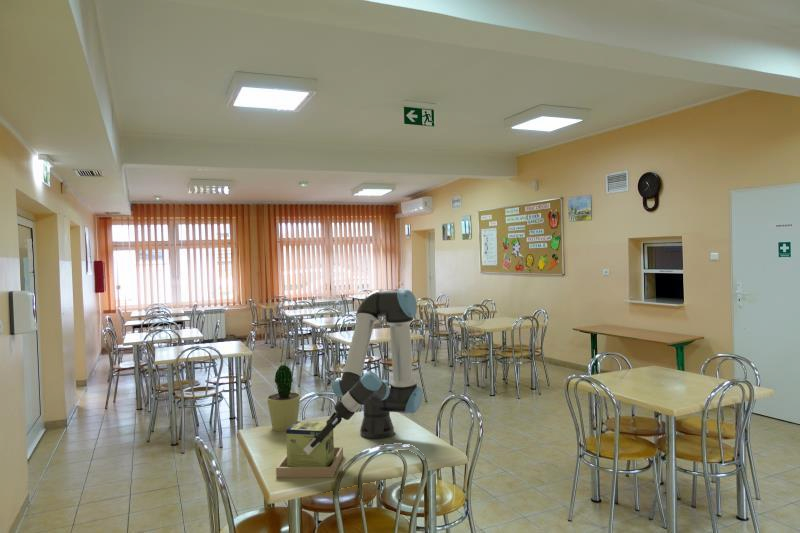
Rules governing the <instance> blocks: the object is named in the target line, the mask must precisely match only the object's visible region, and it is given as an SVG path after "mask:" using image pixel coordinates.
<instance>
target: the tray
mask: <svg viewBox="0 0 800 533" xmlns="http://www.w3.org/2000/svg"><path fill="white" fill-rule="evenodd" d="M343 457H344V447H343V446H334V461H333V463H332V465H331V466H330V467H287V453H286V454H285V455H284V456H283V458H282V459H281V460H280V461H279V463H278V465H277V466H276V468H275V472H276V473H275V476H276V478H333V477H334V476H333V475H335V473H336V471H337V470H338V467H339V464H340V462H341V460H342V459H343Z"/></svg>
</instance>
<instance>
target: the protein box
mask: <svg viewBox="0 0 800 533" xmlns="http://www.w3.org/2000/svg"><path fill="white" fill-rule="evenodd" d="M326 423H327V422H326V421H325V422H324V421H302V420H301V421H298V420H297V422H296V423H294V424H293V425H292V426H290V427H289V428H288V429H286V431H285V432H286V434H285V435H286V436H285V437H286V438H285V439H286V454H287V466H286V467H331V465H332V463H333V461H334V459H335V456H334V447H335V442H334V441H335V440H334V439H335V438H334V429H332V430H331V431H330V433H329V434H328V435H327V436H326V437H325V438H324V439H323V440H322V442H321V443H319V444H318V445H317V446H316V447H315V448H314V449H313V451H312V452H311V453H310V454H309V455H308V454H307V453H306V452H305V451H304V450H303V449H304V448H305V447H306V446H307V445H308V444H309V443H310V442H311V441H312V440H313V439H314V438H315V437H314V435H316V436H317V435H318V434H319V433H320V432H321V431H322V429H323V428H324V427H325V426H326V425H327V424H326Z"/></svg>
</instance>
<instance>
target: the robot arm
mask: <svg viewBox="0 0 800 533" xmlns="http://www.w3.org/2000/svg"><path fill="white" fill-rule="evenodd" d="M417 310H418V303H417V299H416V296H415V294H414V293H413V291H411V290H409V289H396V288H395V289H376V290H373V291H371V292H370V293H369V294H368V295H366V296H365V297H364V298H363V299H362V301H361V303H360V304H359V306H358V309H357V311H356V314H355V318H356V322H355V323H356V324H355V327H354V329H353V334H352V338H351V343H350V345H349V350H348V354H347V358H346V359H345V364H344V368H343V372H342V374H341V377H337V378H335V380H333V383H332V384H333V385H332V392H333V394H334V395H335V396H336V397H341V399H339V400H338V401H337V403H336V404H334V412H333V413H332V414H331V416H330V417H329V419H327V420H326V421H325V422H327V423H326V424H327V425H326V426H325V427H324V428H323V429H322V431H321V432H320V433H319V434H318V435H317V436H316V435H314V437H315V438H314V439H313V440H312V441H311V442H310V443H309V444H308V445H307V446H306V447H305V448H304V449H303V450H304V451H305V452H306V453H307V454H308V455H309V454H310V453H311V452H312V451H313V449H314V448H315V447H316V446H317V445H318V444H319V443H321V442H322V440H323V439H324V438H325V437H326V436H327V435H328V434H329V433H330V431H331V430H332V429H333V430H334V429H335V428H336V427H337V426H338V425H339V424H340V423H341V421H342V420H343V419H344V420H346V421H349V420H350V419H351V418H352V417H353V416H354V415H355V413H357V411H359V410H361V409H363V417H362V422H361V424H360V428H359V435H360V436H361V437H363V438H365V439H372V440H373V439H385V438H389V437H391V436H393V435H394V434H395V427H394V424H393V422H392V419H391V413H400V414H401V413H402V414H406V415H407V414H416V413H417V412H418V411H419V409H420V408H421V404H422V400H423V389H422V387H421V386H419V385H418V382H417V380H416V379H415V378H414V376H413V375H414V373H413V357H412V356H413V355H412V343H411V326H410V324H411V323H412V322H413V320H414V318H413V317H416V315H417V313H418V311H417ZM380 317H385V323H386V324H388V325H389V334H390V335H389V336H390V348H391V349H390V350H391V364H392V365H391V366H392V378H393V379H392V380H391V381H389V380H387V379H381V378H380V377H379V375H378V374H376V373H375V372H374V371H372V370H368V371H366V373H364V374H363V369H364V366H365V362H366V358H367V354H368V350H369V346H370V342H371V339H372V335H373V330H374V327H375V324H377V323H378V320H379V318H380ZM362 374H363V375H362Z"/></svg>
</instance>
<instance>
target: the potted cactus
mask: <svg viewBox="0 0 800 533" xmlns="http://www.w3.org/2000/svg"><path fill="white" fill-rule="evenodd" d="M274 374H275V375H274V380H273V383H274V384H275V388H276V390H277V392H276V393H273V394H270V395H267V396H266V399H267V405H268V411H269V416H270V422H271V427H272V430H273V431H277V432H286V431H285V430H286V429H288V428H289V427H290V426H292V425H293V424H294V423H296V422H297V421H298V420H299V409H300V403H301V402H300V401H301V394H300V393H299V392H295V391H293V392H292V391H291V390H292V384H293V382H295V380H294V378H293V374H294V372H293V370H292V369H291V367H290V366H288V364H287V365H286V364H281V365H278V366H277V368H276V371H275V373H274Z"/></svg>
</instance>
